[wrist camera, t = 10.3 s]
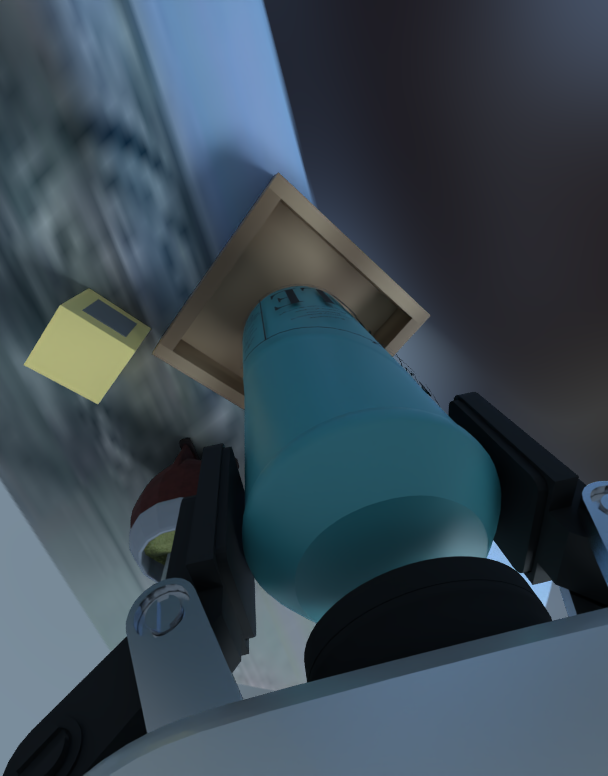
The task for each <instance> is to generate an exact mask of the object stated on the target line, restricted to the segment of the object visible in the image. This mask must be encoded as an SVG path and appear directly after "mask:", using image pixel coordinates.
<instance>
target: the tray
mask: <svg viewBox="0 0 608 776" xmlns="http://www.w3.org/2000/svg"><path fill="white" fill-rule="evenodd" d="M293 284H297V285H293ZM305 284H308V285H305ZM288 285H289V286H288ZM300 285H303V286H308V287H311V286H313V285H314V286H313V287H312V288H314V287H316V289H319V288H320V287H321V288H320V289H319V290H322V291H325V292H326V293H327V292H328V294H329V293H330V294H329V295H331V294H332V295H334V296H335V297H336V296H337V298H338V299H339V300H340V301H341V302H343V303H345V305H346V306H348V307H349V308H350V309H351V311H352V312H354V313H355V314H356V315H357V316H356V315H355V314H354V313H351V311H349V309H348V308H347V307H346V306H344V305H343V304H342V303H341V302H340V301H338V300H337V299H336V298H335V297H334V298H335V299H336V300H337V301H338V302H339V303H340V304H341V305H342V306H343V307H344V308H345V309H346V310H347V311H348V312H349V313H350V314H351V315H352V316H353V317H355V316H356V317H357V318H358V319H359V321H360V322H361V323H362V325H363V326H364V327H365V329H366V330H367V331H368V332H369V330H370V331H371V333H372V334H371V336H372V337H373V338H374V339H375V340H376V341H377V342H378V343H379V342H380V345H381V344H383V345H381V346H382V347H383V348H385V350H386V349H387V350H388V351H387V350H386V351H387V352H388V353H389V354H390V355H391V356H392V357H393V356H394V355H395V354H396V353H397V352H398V350H399V349H400V348H401V347H402V346H403V345H404V344H405V343H406V342H407V341H408V340H409V339H410V338H411V336H412V335H413V334H414V333H415V332H416V331H417V330H418V329H419V328H420V327H421V326H422V324H423V323H424V322H425V321H426V320H427V319H428V318H429V317H430V315H429V314H428V313H427V312H426V311H425V310H424V309H423V308H422V307H421V306H420V305H419V304H418V303H417V302H415V300H413V299H412V298H411V297H410V296H409V295H408V294H407V293H406V292H405V291H404V290H403V289H402V288H401V287H400V286H399V285H398V284H396V283H395V282H394V281H393V280H392V279H391V278H390V277H389V276H388V275H387V274H386V273H385V272H384V271H383V270H382V269H381V268H380V267H378V266H377V265H376V264H375V263H374V262H373V261H372V260H371V259H370V258H369V257H368V256H367V255H366V254H365V253H364V252H363V251H361V250H360V249H359V248H358V247H357V246H356V245H355V244H354V243H353V242H352V241H351V240H350V239H349V238H348V237H347V236H346V235H344V234H343V233H342V232H341V231H340V230H339V229H338V228H337V227H336V226H335V225H334V224H332V222H331V221H330V220H328V219H327V218H326V217H325V216H324V215H323V214H322V213H321V212H320V211H319V210H318V209H317V208H316V207H315V206H314V205H313V204H312V203H310V202H309V201H308V200H307V199H306V198H305V197H304V196H303V195H302V194H301V193H300V192H299V191H298V190H297V189H296V188H295V187H293V186H292V185H291V184H290V183H289V182H288V181H287V180H286V179H285V178H284V177H283V176H282V175H281V174H280V173H279V172H278V173H277V174H276V175H274V176H273V178H272V179H271V181H270V182H269V184H268V185H267V186H266V188H265V189H264V191H263V192H262V194H261V195H260V196H259V198H258V199H257V201H256V202H255V204H254V205H253V207H252V208H251V209H250V211H249V212H248V214H247V215H246V217H245V218H244V219H243V221H242V222H241V224H240V225H239V227H238V228H237V230H236V231H235V232H234V234H233V235H232V237H231V238H230V240H229V241H228V242H227V244H226V245H225V247H224V248H223V250H222V251H221V253H220V254H219V255H218V257H217V258H216V260H215V261H214V263H213V264H212V265H211V267H210V268H209V270H208V271H207V273H206V274H205V276H204V277H203V278H202V280H201V281H200V283H199V284H198V286H197V287H196V288H195V290H194V291H193V293H192V294H191V296H190V297H189V299H188V300H187V301H186V303H185V304H184V306H183V307H182V309H181V310H180V311H179V313H178V314H177V316H176V317H175V319H174V320H173V322H172V323H171V324H170V326H169V327H168V329H167V330H166V332H165V333H164V334H163V336H162V337H161V339H160V341H159V343H158V344H157V346H156V348H155V349H154V351H153V353H152V354H153V355H154V356H156V357H158V358H159V359H161V360H163V361H164V362H166V363H168V364H169V365H171V366H173V367H174V368H176V369H178V370H179V371H181V372H182V373H184V374H186V375H187V376H189V377H191V378H192V379H194V380H196V381H197V382H199V383H201V384H202V385H204V386H206V387H207V388H209V389H211V390H212V391H214V392H216V393H217V394H219V395H220V396H222V397H224V398H225V399H227V400H229V401H230V402H232V403H234V404H235V405H237V406H239V407H240V408H242V409H244V410H245V406H244V384H243V366H242V365H243V344H241V343H242V340H243V339H242V338H243V332H244V327H245V326H244V325H245V323H246V322H245V320H246V321H247V319H248V317H249V313H250V312H252V311H253V310H252V309H254V308H255V307H256V306H257V305H258V303H259V300H260V302H261V301H262V300H263V299H264V298H265V297H267V296H268V295H270V294H271V293H273V292H275V291H277V290H280V289H282V288H287V287H291V286H300ZM283 286H284V287H283ZM317 286H318V287H317ZM280 287H281V288H280ZM323 288H324V290H323ZM275 289H276V290H275ZM325 289H326V290H325ZM273 290H274V291H273ZM327 290H328V291H327ZM271 291H272V292H271ZM269 292H270V293H269ZM266 294H267V295H266ZM332 295H331V296H332ZM263 296H264V297H263ZM332 297H333V296H332ZM257 301H258V302H257ZM256 302H257V303H256ZM251 308H252V309H251ZM251 310H252V311H251ZM249 311H250V312H249ZM250 314H251V313H250ZM354 315H355V316H354ZM247 316H248V317H247ZM356 317H355V319H356ZM356 320H357V319H356ZM357 321H358V320H357ZM359 321H358V322H359ZM243 322H244V323H243ZM241 328H242V329H241ZM368 328H369V329H368ZM241 333H242V334H241ZM384 345H385V346H384ZM386 346H387V347H386ZM388 347H389V348H388ZM392 350H393V351H392ZM389 351H390V352H389ZM392 353H393V354H394V355H393V354H392ZM241 367H242V368H241Z"/></svg>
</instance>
